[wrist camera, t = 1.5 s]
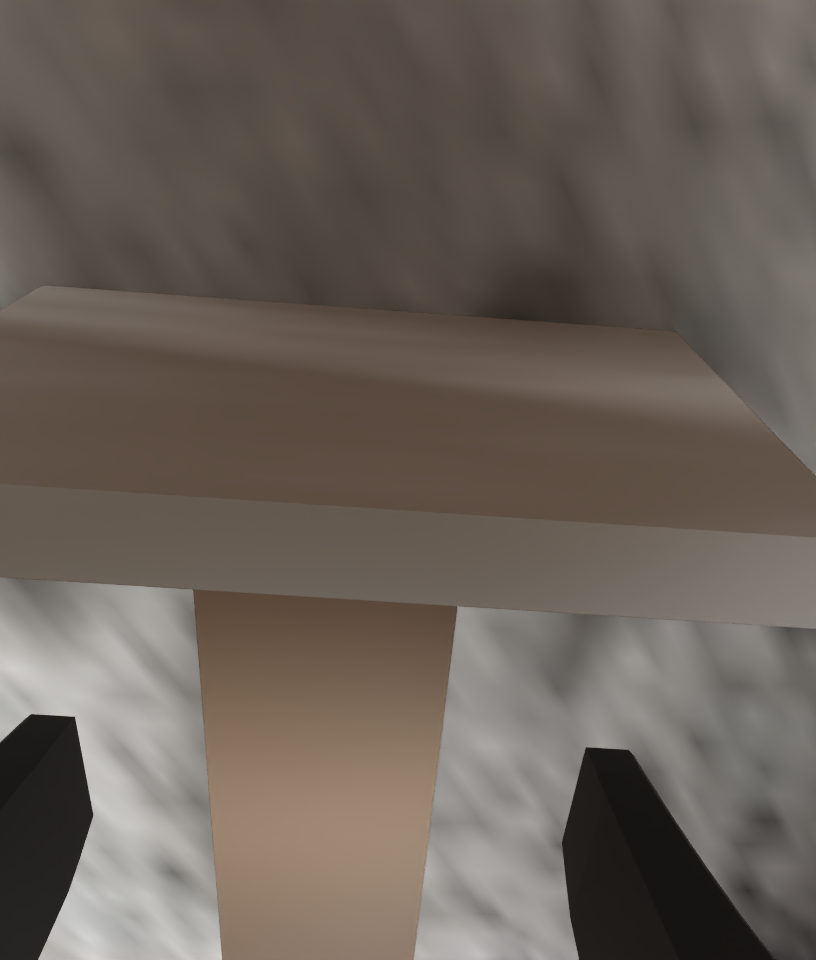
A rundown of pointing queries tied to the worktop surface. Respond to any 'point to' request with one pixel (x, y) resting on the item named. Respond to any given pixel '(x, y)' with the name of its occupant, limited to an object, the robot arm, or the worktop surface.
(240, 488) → the scraper
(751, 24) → the worktop surface
